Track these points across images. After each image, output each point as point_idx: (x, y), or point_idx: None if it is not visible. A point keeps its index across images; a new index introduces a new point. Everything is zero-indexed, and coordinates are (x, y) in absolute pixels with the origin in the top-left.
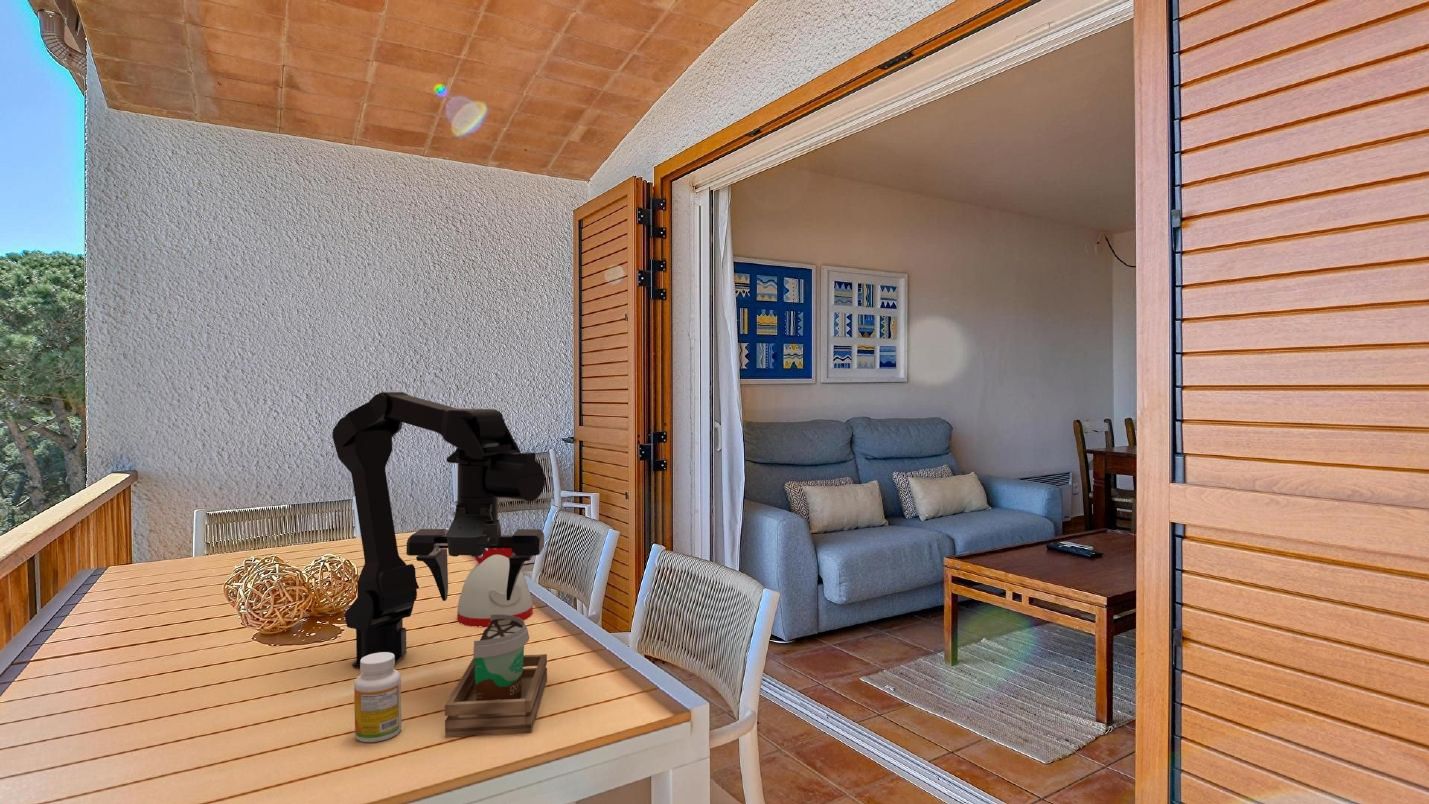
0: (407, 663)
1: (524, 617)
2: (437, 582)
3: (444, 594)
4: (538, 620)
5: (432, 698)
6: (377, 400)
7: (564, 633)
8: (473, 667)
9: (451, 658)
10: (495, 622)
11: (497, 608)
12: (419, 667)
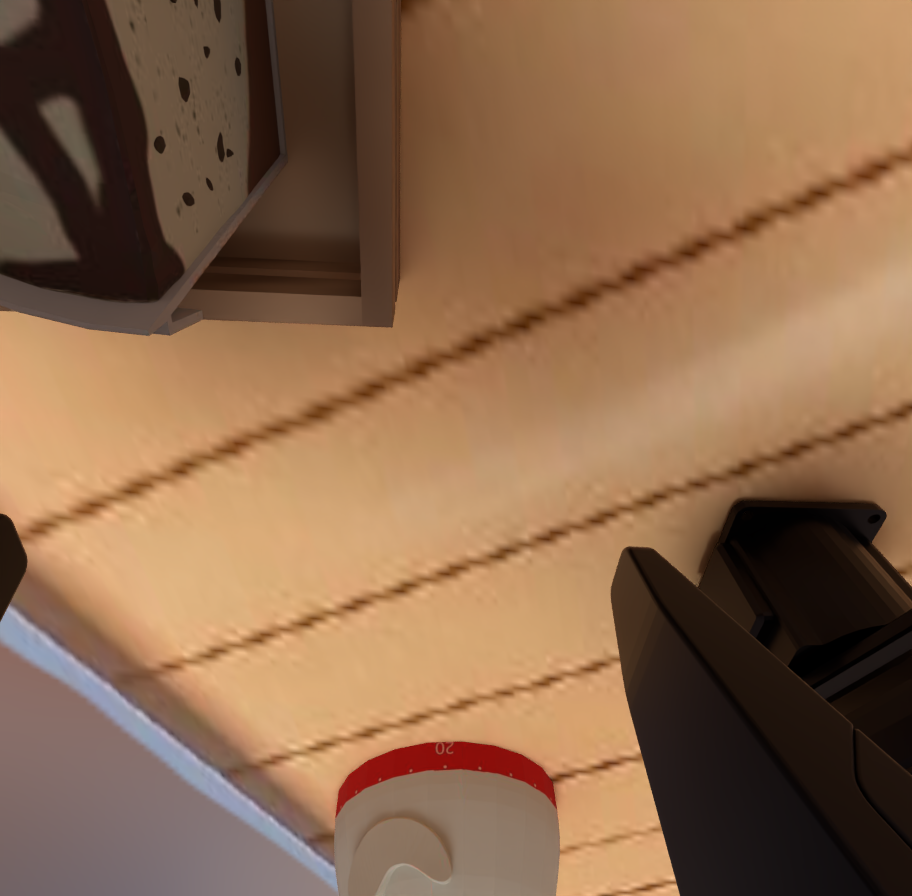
0: (687, 521)
1: (349, 781)
2: (802, 697)
3: (652, 584)
4: (305, 768)
5: (566, 138)
6: None
7: (182, 684)
8: (357, 164)
9: (535, 543)
10: (85, 225)
11: (423, 804)
12: (644, 483)
